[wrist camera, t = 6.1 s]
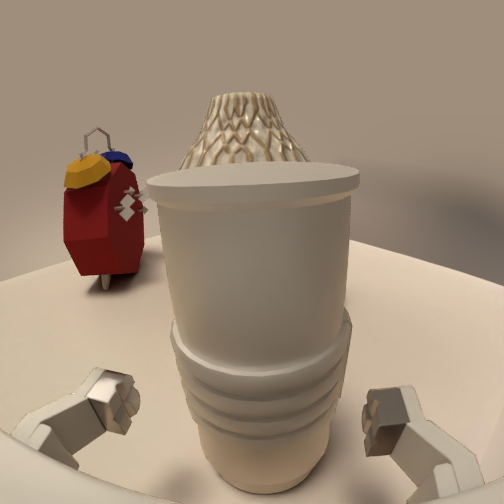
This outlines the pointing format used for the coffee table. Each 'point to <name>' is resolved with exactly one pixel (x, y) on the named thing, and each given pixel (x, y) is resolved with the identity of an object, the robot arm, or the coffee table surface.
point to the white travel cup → (259, 309)
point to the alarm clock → (103, 213)
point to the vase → (242, 133)
